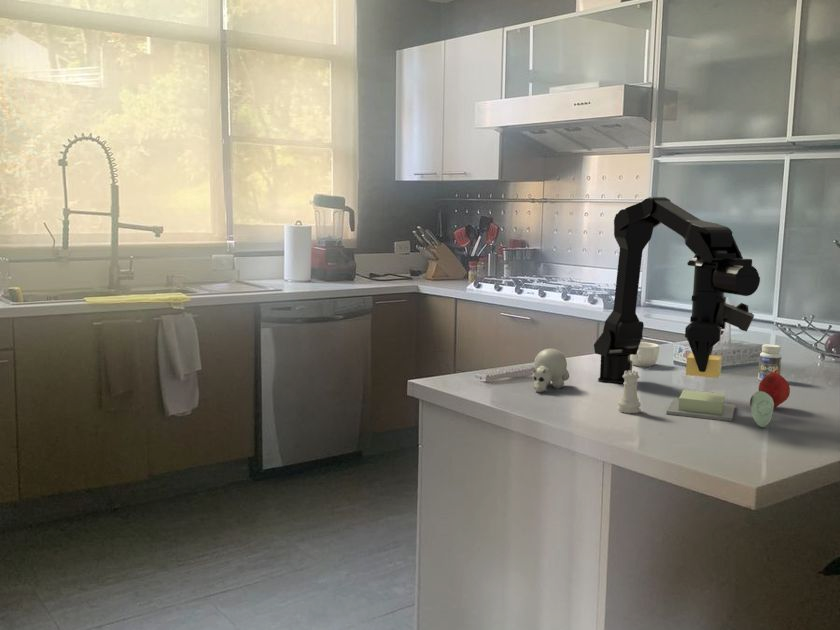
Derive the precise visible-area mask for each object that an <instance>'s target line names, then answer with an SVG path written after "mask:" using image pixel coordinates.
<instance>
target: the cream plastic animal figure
mask: <svg viewBox="0 0 840 630" xmlns="http://www.w3.org/2000/svg"><path fill="white" fill-rule="evenodd" d="M533 364H534V365H533V366H531V370H532V377H531V378H532V380H533V382H534V383H533V389H534V390H535V391H536V392H538V393H544V392H545V391H546V389H547V387H548V386H550V385H551V383H552V386H553V387H552V388H554V389H561V388H563V387H564V386H565V381H568V380H569V379H570V373H569V371H568V370H567V367H568V363H567V359H566V357H565V355H564V353H562V352H561V351H560V350H558V349H555V348H545V349H543V350H541V351H539V352H538V354H536V356H535V359H534V362H533Z"/></svg>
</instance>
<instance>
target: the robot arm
mask: <svg viewBox="0 0 840 630" xmlns="http://www.w3.org/2000/svg"><path fill="white" fill-rule="evenodd" d="M661 224H663V225H664V226H666V227H667V228H668V229H670V230H672V231H673V232H674V233H676V234H677V235H680V237H682V238H683V239H684V244H685V246H686V247H687V248H688V249H689V250H690V251H691V252H692V253H693V255H694V256H693V257H692V258H691V259H689V260H688V261H687V264H686V265H687V266H689V267H690V266H691V267H694V271H693V272H694V274H693V286H692V287H693V291H692V295H691V302H692V304H691V305H692V306H691V315H690V319H689V321H690V322H689V323H688V324H687V325H686V327H684V328H685V331H684V332H685V333H684V337H685V338H686V340H687V342H688V344H689V347H690V350H691V353H693V355H694V358H695V361H696V363H697V366H698V369H699V371H700V372H705V371H706V367H707V363H708V359H709V356H710V354H712V352H713V348H714V346H715V345H716V344H718V343H719V342H720V341H721V338H722V337H721V336H722V335H723V334H724V330H725V329H726V325H727V324H730V325H732V326H733V327H736V328H738V329H739V330H740V331H743V332H747V331H748V330H749V328H750V326H751V324H752V323H753V319H754V317H755V314H753V312H751V311H750V312H749V305H748V304H746V303H743V302H740V303H739V304H737V305H736V306H735V305H731V304H729V303H727V297H726V296H725V294H729V295H736V296H744V297H749V296H752V295H754V293H755V292H757V290H758V288H759V286H760V283H761V277H760V274H759V272H758V270H757V268H756V267H755V266H753V259H751V258H743V254H742V251H740V249H739V247H738V244H737V242H736V240H735V238H734V236H733V231H732V230H731V228H730V227H728V226H726V225H722V224H719V223H716V222H715V223H714V222H710V221H707V220H706V221H705V220H702V219H700V218H698V217H696V216H695V215H693V214H691V212H688V211H687V210H685V209H684V208H681V207H680V206H678V205H677V204H675V203H674V202H672V201H671V199H670V198H667V197H665V196H648V197H647V198H645V199H644V200H642V201H640V202H638V203H636V204H633V205H630V206H627V207H626V208H624V209H620V210H619V211H618V213H616V214H615V215H614V220H613V236H614V239H615V240H616V243H617V245H618V247H619V252H618V253H619V255H618V262H617V263H618V264H617V272H616V283H615V290H614V291H615V292H614V300H613V309H612V312H611V313H610V314H609V315H608V317H607V318H606V319H605V321H604V325H603V329H602V333H601V335H600V336H599V337H598V339H597V340H596V341H595V342H594V344H593V348H594V353H595V354H596V355H599V356H600V367H599V368H600V371H599V377H598V378H597V379H598V380H597V381H598V382H606V383H617V384H623V383H624V381H625V380H624V378H623V375H624V371H627V372H628V370H631V373H633V364H632V361H631V360H630V355H636V354H637V351H638V348H639V345H640V342H642V340H643V339H644V338H643V337H644V336H643V331H644V325H645V324H644V322H643V321H640V319H639V316H638V315H637V305H638V304H637V303H638V293H639V285H640V277H641V268H642V267H641V266H642V257H643V251H644V249H645V247H646V246H647V244H648V243H649V242H650V241H651V239H652V236H653V233H654V228H657V226H659V225H661Z"/></svg>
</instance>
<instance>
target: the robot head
mask: <svg viewBox="0 0 840 630" xmlns="http://www.w3.org/2000/svg"><path fill="white" fill-rule="evenodd" d="M749 406H750V414H751V416H752V418H753V421H754V422H755V423H756V424H757V426H759V427H760V428H765V427H767V425H768V424H770V421H771V420H772V416H773V412H774V409H775V408H774V402H773V399H772V397H771V396H770V395H768V394H767V393H765V392H762V391H759V390H758V391H756V392H755V393H753V394H752V395H751V397H750V399H749Z"/></svg>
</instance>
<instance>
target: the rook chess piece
mask: <svg viewBox="0 0 840 630" xmlns="http://www.w3.org/2000/svg"><path fill="white" fill-rule="evenodd" d="M638 373H639V372H638V371H636V370H632V373H631V370H628V372H627V371H624V375H623V378H624V380H625V381H624V383H622V384H623V392H622V397H620V400H619V401H618V403H617V404H618V407H617V409H618V411H619V412H620V411H621V413H622V412H624V413H623V414H627V413H633V414H632V415H635V414H634V413H636V414H639V413H640V411H642V409H641V408H640V407H641V406H642V405H641V402H640V401H639V398H638V387H637V386H638V385H639V384H638V383H637V382H638V380H639V378H640V376H639V374H638Z"/></svg>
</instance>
